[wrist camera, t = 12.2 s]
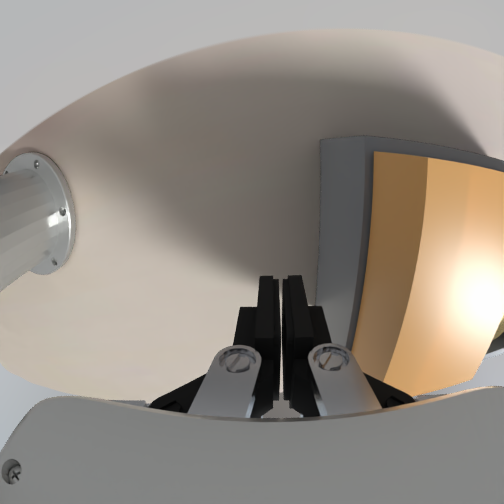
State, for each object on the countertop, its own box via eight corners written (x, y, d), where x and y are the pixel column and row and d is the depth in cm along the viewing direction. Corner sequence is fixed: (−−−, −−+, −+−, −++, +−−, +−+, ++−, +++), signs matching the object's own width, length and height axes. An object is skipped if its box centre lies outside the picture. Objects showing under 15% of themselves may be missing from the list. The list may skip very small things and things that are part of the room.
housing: (315, 307, 23) (335, 391, 14) (320, 139, 18) (364, 135, 9) (470, 293, 22) (520, 345, 13) (492, 163, 17) (565, 183, 8)
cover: (342, 387, 14) (355, 443, 10) (373, 151, 9) (427, 157, 6) (462, 363, 13) (487, 404, 10) (513, 174, 9) (566, 192, 5)
